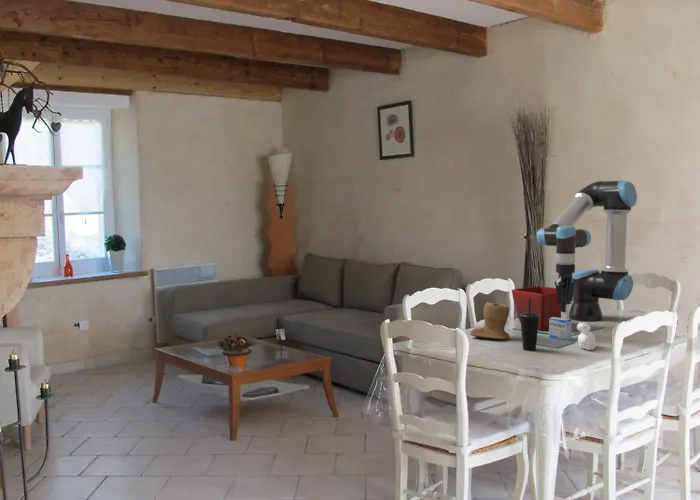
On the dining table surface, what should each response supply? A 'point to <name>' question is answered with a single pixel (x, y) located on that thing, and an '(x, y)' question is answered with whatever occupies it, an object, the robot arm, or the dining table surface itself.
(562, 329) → the medicine box
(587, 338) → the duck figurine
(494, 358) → the dining table surface
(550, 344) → the mat
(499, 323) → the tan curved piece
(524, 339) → the drinking cup
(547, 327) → the plant pot
